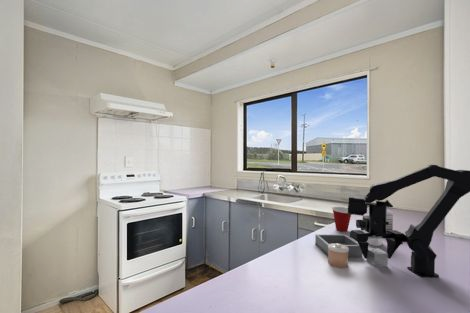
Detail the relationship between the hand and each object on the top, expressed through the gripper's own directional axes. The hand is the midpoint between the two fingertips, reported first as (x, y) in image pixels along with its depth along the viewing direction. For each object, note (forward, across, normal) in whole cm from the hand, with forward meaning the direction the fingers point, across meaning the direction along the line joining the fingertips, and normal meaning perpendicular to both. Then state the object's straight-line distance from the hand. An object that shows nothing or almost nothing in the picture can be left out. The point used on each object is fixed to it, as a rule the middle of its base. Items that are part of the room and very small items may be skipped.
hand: (376, 258), depth 90 cm
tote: (+2, +9, -13) cm, 16 cm away
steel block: (+2, 0, 0) cm, 2 cm away
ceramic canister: (+2, +15, 0) cm, 15 cm away
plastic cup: (+2, -7, -41) cm, 42 cm away
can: (+2, -27, -38) cm, 47 cm away
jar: (+2, -12, -22) cm, 25 cm away
